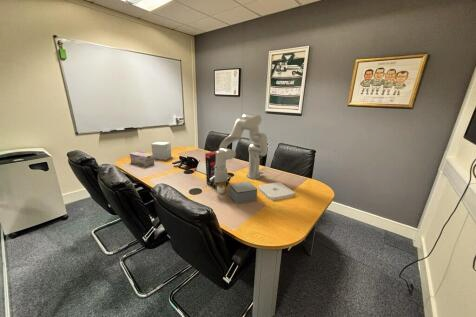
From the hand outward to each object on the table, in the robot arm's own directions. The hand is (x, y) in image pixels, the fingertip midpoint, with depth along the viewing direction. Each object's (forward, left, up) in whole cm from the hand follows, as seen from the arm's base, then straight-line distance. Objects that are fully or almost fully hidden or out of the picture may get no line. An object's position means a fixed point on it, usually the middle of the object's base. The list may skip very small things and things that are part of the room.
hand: (220, 187), depth 149 cm
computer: (-41, +15, -5) cm, 44 cm away
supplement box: (+36, -110, -4) cm, 116 cm away
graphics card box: (-2, -19, -4) cm, 20 cm away
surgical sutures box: (+57, -96, -4) cm, 111 cm away
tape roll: (0, 0, -4) cm, 4 cm away
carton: (-12, +14, -4) cm, 19 cm away
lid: (-13, +14, +4) cm, 19 cm away
